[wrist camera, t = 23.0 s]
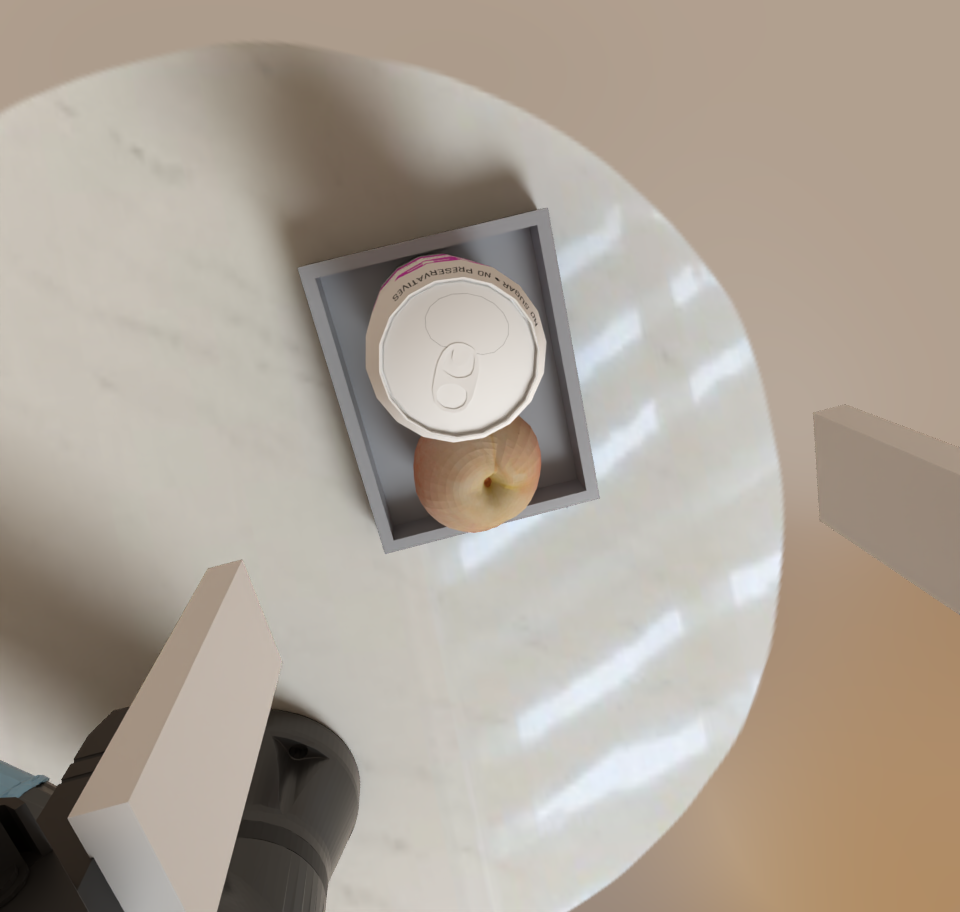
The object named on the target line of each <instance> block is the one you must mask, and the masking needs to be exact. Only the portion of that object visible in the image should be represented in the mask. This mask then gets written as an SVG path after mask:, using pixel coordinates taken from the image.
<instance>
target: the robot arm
mask: <svg viewBox="0 0 960 912" xmlns="http://www.w3.org/2000/svg"><path fill="white" fill-rule="evenodd" d="M813 419H814V435H815V452H816V469H817V484H818V485H817V486H818V502H819V519H820V521H821V522H822V523H824V524H825V525H827V526H828V527H830V528H831V529H833V530H834V531H836V532H837V533H839V534H840V535H842V536H843V537H845V538H846V539H848V540H849V541H851V542H852V543H853V544H855V545H857V546H858V547H859V548H861V549H862V550H864V551H866V552H867V553H868V554H870V555H872V556H873V557H874V558H876V559H877V560H879V561H880V562H882V563H883V564H885V565H886V566H888V567H889V568H891V569H892V570H894V571H895V572H897V573H898V574H900V575H901V576H903V577H904V578H906V579H907V580H909V581H910V582H911V583H913V584H914V585H916V586H917V587H919V588H920V589H922V590H923V591H925V592H926V593H928V594H929V595H931V596H932V597H934V598H935V599H937V600H938V601H940V602H941V603H943V604H944V605H946V606H947V607H949V608H950V609H952V610H953V611H955V612H956V613H958V614H959V615H960V447H957V446H955V445H952V444H949V443H947V442H944V441H941V440H938V439H936V438H933V437H930V436H928V435H925V434H923V433H920V432H917V431H915V430H912V429H909V428H907V427H904V426H901V425H899V424H896V423H893V422H891V421H888V420H885V419H883V418H880V417H878V416H875V415H872V414H869V413H866V412H864V411H862V410H859V409H856V408H854V407H851V406H848V405H846V404H844V405H841V406H837V407H833V408H829V409H825V410H822V411H818V412H814V413H813ZM281 667H282V660H281V657H280V655H279V652H278V650H277V647H276V645H275V642H274V639H273V637H272V634H271V632H270V629H269V627H268V624H267V621H266V619H265V616H264V614H263V611H262V609H261V606H260V603H259V601H258V598H257V596H256V593H255V590H254V588H253V585H252V583H251V580H250V578H249V575H248V572H247V570H246V567H245V565H244V562H243V560H238V561H235V562H231V563H227V564H223V565H219V566H215V567H211V568H208V569H207V571H206V573H205V574H204V576H203V578H202V580H201V581H200V583H199V585H198V587H197V589H196V590H195V592H194V594H193V596H192V598H191V599H190V601H189V603H188V605H187V606H186V608H185V610H184V612H183V614H182V615H181V617H180V619H179V621H178V622H177V624H176V626H175V628H174V630H173V631H172V633H171V635H170V637H169V638H168V640H167V642H166V644H165V646H164V647H163V649H162V651H161V653H160V654H159V656H158V658H157V660H156V662H155V663H154V665H153V667H152V669H151V670H150V672H149V674H148V676H147V678H146V679H145V681H144V683H143V685H142V686H141V688H140V690H139V692H138V694H137V695H136V697H135V699H134V701H133V702H132V704H131V706H130V707H126V708H123V709H119V710H115V711H113V712H112V713H111V714H110V715H109V716H108V717H107V718H105V719H104V720H103V721H102V722H101V723H100V724H99V725H98V726H97V727H96V728H95V729H94V730H93V731H92V732H91V733H90V734H89V735H88V737H87V738H86V740H85V742H84V743H83V745H82V747H81V748H80V750H79V751H78V753H77V755H76V756H75V758H74V763H73V764H70V766H69V768H68V769H67V771H66V773H65V774H64V776H63V778H62V779H61V780H62V784H59V785H58V786H56V785H54V784H52V783H50V782H48V781H49V779H50V778H48V777H46V776H44V775H37V776H34V775H32V774H29V773H27V772H25V771H23V770H21V769H19V768H16V767H14V766H12V765H10V764H8V763H6V762H3V761H1V760H0V912H325V909H326V897H327V888H328V882H329V880H330V878H331V876H332V874H333V872H334V870H335V868H336V866H337V863H338V861H339V859H340V857H341V855H342V853H343V850H344V848H345V846H346V843H347V841H348V840H349V838H350V836H351V833H352V831H353V829H354V826H355V823H356V819H357V815H358V809H359V794H360V777H359V771H358V768H357V764H356V762H355V760H354V757H353V756H352V754H351V752H350V751H349V749H348V748H347V746H346V745H345V744H344V743H343V742H342V740H341V739H340V738H339V737H338V736H336V735H335V734H334V733H333V732H332V731H330V730H329V729H328V728H326V727H325V726H323V725H321V724H319V723H318V722H316V721H313V720H311V719H309V718H306V717H304V716H301V715H298V714H294V713H290V712H285V711H278V710H270V708H271V705H272V701H273V697H274V693H275V689H276V686H277V682H278V678H279V674H280V671H281Z"/></svg>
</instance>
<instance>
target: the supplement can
mask: <svg viewBox="0 0 960 912" xmlns="http://www.w3.org/2000/svg"><path fill="white" fill-rule="evenodd" d="M545 353H546V339H545V335H544V331H543V328H542V324H541V320H540V317H539V313H538V311H537V309H536V308H535V306H534V305H533V304H532V302H531V301H530V299H529V298H528V297H527V295H526V294H525V292H524V291H523V290H522V288H521V287H520V285H518V284H517V283H515V282H514V281H512V280H511V279H509V278H508V277H506V276H505V275H503V274H502V273H500V272H499V271H497V270H496V269H494V268H493V267H490V266H487V265H484V264H480V263H477V262H474V261H471V260H468V259H464V258H460V257H456V256H452V255H448V254H443V253H436V254H429V255H421V256H417V257H415V258H413V259H411V260H409V261H407V262H406V263H404V264H402V265H400V266H398V267H397V268H396V269H395V270H394V271H393V272H392V274H391V275H390V276H389V277H388V278H387V279H386V281H385V282H384V283H383V284H382V285H381V288H380V291H379V293H378V296H377V299H376V302H375V304H374V307H373V311H372V314H371V318H370V322H369V325H368V329H367V333H366V370H367V373H368V376H369V379H370V381H371V384H372V387H373V389H374V392H375V395H376V397H377V399H378V400H379V401H380V402H381V404H382V405H383V406H384V407H385V408H386V410H387V411H388V412H389V413H390V414H391V415H392V417H393V418H394V419H395V420H396V421H397V422H398V423H400V424H402V425H403V426H405V427H407V428H409V429H410V430H412V431H414V432H416V433H417V434H419V435H421V436H423V437H426V438H431V439H437V440H442V441H448V442H453V443H454V442H460V441H467V440H473V439H480V438H484V437H486V436H488V435H490V434H492V433H494V432H496V431H497V430H499V429H501V428H503V427H505V426H507V425H509V424H511V422H512V421H513V420H514V419H515V418H516V417H517V416H518V415H519V414H520V413H521V412H522V411H523V410H524V409H525V408H526V406H527V405H528V404H529V403H530V402H531V401H532V399H533V396H534V394H535V392H536V390H537V387H538V385H539V383H540V381H541V378H542V376H543V374H544V366H545Z"/></svg>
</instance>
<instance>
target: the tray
mask: <svg viewBox="0 0 960 912" xmlns="http://www.w3.org/2000/svg"><path fill="white" fill-rule="evenodd" d="M436 253H443V254H448V255H452V256H456V257H460V258H464V259H468V260H471V261H474V262H477V263H480V264H484V265H487V266H490V267H493V268H494V269H496V270H497V271H499V272H500V273H502V274H503V275H505V276H506V277H508V278H509V279H511V280H512V281H514V282H515V283H517V284H518V285H520V287H521V288H522V290H523V291H524V292H525V294H526V295H527V297H528V298H529V299H530V301H531V302H532V304H533V305H534V306H535V308H536V309H537V311H538V313H539V317H540V320H541V324H542V328H543V331H544V335H545V339H546V353H545V366H544V374H543V376H542V378H541V381H540V383H539V385H538V387H537V390H536V392H535V394H534V396H533V399H532V401H531V402H530V403H529V404H528V405H527V406H526V408H525V409H524V410H523V411H522V412H521V413H520V414H519V416H520V417H521V418H522V419H523V420H524V421H525V422H527V423H528V424H529V425H530V426H531V428H532V430H533V432H534V433H535V435H536V437H537V440H538V444H539V448H540V451H541V470H540V477H539V481H538V486H537V489H536V491H535V493H534V495H533V497H532V499H531V501H530V502H529V504H528V505H527V507H526V508H525V509H524V510H523V511H522V512H521V513H519V514H518V515H517V516H516V517H514V518H512V519H510V520H508V521H506V522H504V523H507V522H511V521H514V520H518V519H522V518H526V517H530V516H534V515H538V514H541V513H545V512H549V511H553V510H557V509H561V508H565V507H568V506H572V505H576V504H580V503H584V502H588V501H592V500H595V499H599V498H600V496H599V490H598V485H597V479H596V474H595V468H594V462H593V457H592V451H591V446H590V440H589V435H588V429H587V423H586V418H585V412H584V407H583V401H582V396H581V390H580V384H579V379H578V373H577V368H576V362H575V357H574V351H573V345H572V340H571V334H570V329H569V323H568V318H567V312H566V306H565V301H564V295H563V290H562V284H561V278H560V273H559V267H558V262H557V256H556V251H555V245H554V239H553V234H552V228H551V223H550V217H549V212H548V208H543V209H538V210H534V211H529V212H525V213H521V214H517V215H513V216H509V217H504V218H500V219H496V220H492V221H488V222H484V223H479V224H475V225H471V226H467V227H463V228H459V229H454V230H450V231H446V232H442V233H438V234H434V235H429V236H425V237H421V238H417V239H413V240H409V241H404V242H400V243H396V244H392V245H388V246H384V247H379V248H375V249H371V250H367V251H363V252H359V253H355V254H350V255H346V256H342V257H338V258H334V259H330V260H325V261H321V262H317V263H313V264H309V265H305V266H301V267H298V272H299V275H300V278H301V281H302V285H303V288H304V291H305V294H306V298H307V301H308V304H309V307H310V311H311V314H312V317H313V320H314V324H315V327H316V330H317V334H318V337H319V340H320V343H321V347H322V350H323V353H324V356H325V360H326V363H327V366H328V369H329V373H330V376H331V379H332V382H333V386H334V389H335V392H336V396H337V399H338V402H339V405H340V409H341V412H342V415H343V418H344V422H345V425H346V428H347V431H348V435H349V438H350V441H351V444H352V448H353V451H354V454H355V458H356V461H357V464H358V467H359V471H360V474H361V477H362V480H363V484H364V487H365V490H366V493H367V497H368V500H369V503H370V507H371V510H372V513H373V516H374V520H375V523H376V526H377V529H378V533H379V536H380V539H381V542H382V546H383V549H384V552H385V554H387V553H391V552H395V551H399V550H403V549H407V548H410V547H414V546H418V545H422V544H426V543H430V542H433V541H437V540H441V539H445V538H449V537H453V536H457V535H460V534H464V533H468V532H462V531H458V530H455V529H451V528H448V527H447V526H445V525H443V524H441V523H439V522H438V521H437V520H436V519H434V518H433V517H432V516H431V515H430V514H429V513H428V512H427V510H426V509H425V508H424V506H423V505H422V504H421V502H420V499H419V497H418V495H417V493H416V488H415V481H414V469H413V464H414V454H415V449H416V446H417V444H418V441H419V439H420V437H421V435H419V434H417V433H416V432H414V431H412V430H410V429H409V428H407V427H405V426H403V425H402V424H400V423H398V422H397V421H396V420H395V419H394V418H393V417H392V415H391V414H390V413H389V412H388V411H387V410H386V408H385V407H384V406H383V405H382V404H381V402H380V401H379V400H378V399H377V397H376V395H375V392H374V389H373V387H372V384H371V381H370V379H369V376H368V373H367V370H366V333H367V329H368V325H369V322H370V318H371V314H372V311H373V307H374V304H375V302H376V299H377V296H378V293H379V291H380V288H381V285H382V284H383V283H384V282H385V281H386V279H387V278H388V277H389V276H390V275H391V274H392V272H393V271H394V270H395V269H396V268H397V267H398V266H400V265H402V264H404V263H406V262H407V261H409V260H411V259H413V258H415V257H417V256H421V255H429V254H436ZM502 524H503V523H502Z"/></svg>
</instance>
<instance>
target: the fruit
mask: <svg viewBox="0 0 960 912" xmlns="http://www.w3.org/2000/svg"><path fill="white" fill-rule="evenodd" d="M413 469H414V481H415V488H416V493H417V495H418V497H419V499H420V502H421V504H422V505H423V506H424V508H425V509H426V510H427V512H428V513H429V514H430V515H431V516H432V517H433V518H434V519H436V520H437V521H438V522H439V523H441V524H443V525H445V526H447V527H448V528H451V529H455V530H458V531H462V532H473V533H475V532H481V531H487V530H489V529H491V528H494V527H497V526H499V525H500V524H502V523H504V522H506V521H508V520H510V519H512V518H514V517H516V516H517V515H518V514H519V513H521V512H522V511H523V510H524V509H525V508H526V507H527V505H528V504H529V502H530V501H531V499H532V497H533V495H534V493H535V491H536V489H537V486H538V481H539V477H540V470H541V451H540V448H539V444H538V440H537V437H536V435H535V433H534V432H533V430H532V428H531V426H530V425H529V424H528V423H527V422H525V421H524V420H523V419H522V418H521V417H520V416H519V415H518V416H517V417H516V418H515V419H514V420H513V421H512V422H511V424H509V425H507V426H505V427H503V428H501V429H499V430H497V431H496V432H494V433H492V434H490V435H488V436H486V437H484V438H480V439H473V440H467V441H460V442H454V443H453V442H448V441H442V440H437V439H431V438H426V437H423V436H421V437H420V439H419V441H418V444H417V446H416V449H415V454H414V464H413Z"/></svg>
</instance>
